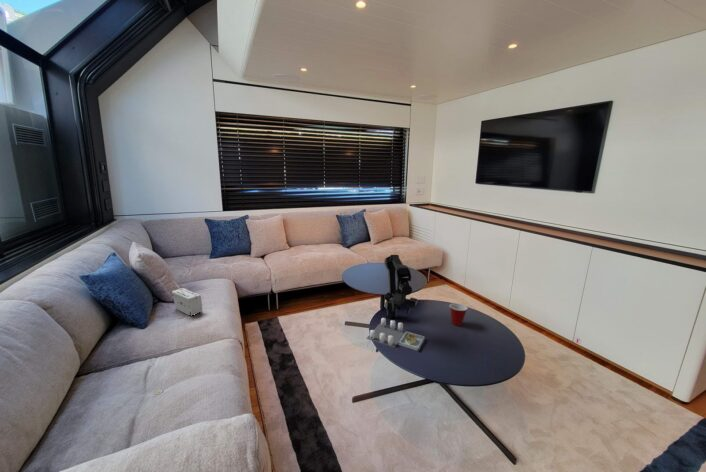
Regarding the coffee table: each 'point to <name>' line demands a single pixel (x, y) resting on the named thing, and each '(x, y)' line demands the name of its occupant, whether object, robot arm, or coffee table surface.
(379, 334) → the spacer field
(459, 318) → the plastic cup
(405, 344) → the nut tray
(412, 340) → the tan faceted polyhedron
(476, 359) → the coffee table surface
